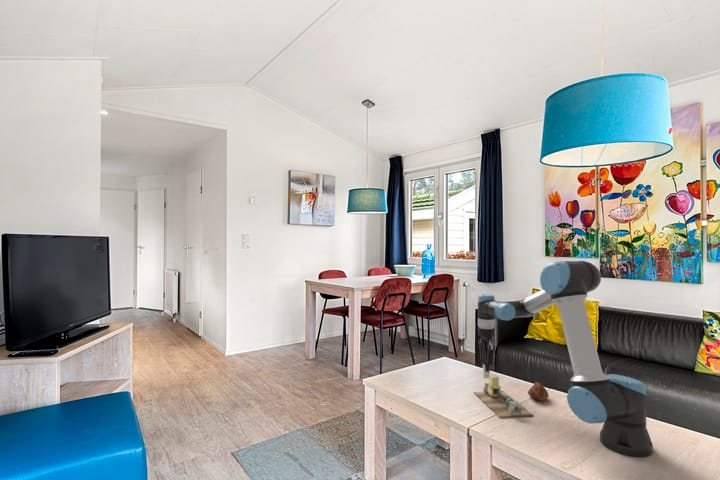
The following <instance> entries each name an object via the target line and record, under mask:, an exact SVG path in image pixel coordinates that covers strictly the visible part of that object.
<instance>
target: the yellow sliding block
mask: <svg viewBox="0 0 720 480" xmlns="http://www.w3.org/2000/svg"><path fill="white" fill-rule="evenodd" d="M488 379H489V384H488V383H487V384H488V394H489V395H490V396H498V395H497V394H496V393H494V392H493V389H496V390H498V391H499V392H500V393H501V391H502V390H501V387H502V386H500V385H499V384H500V382H499V380H500V377H499V376H498V375H497V374H490V375H489V378H488Z"/></svg>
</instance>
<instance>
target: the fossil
mask: <svg viewBox="0 0 720 480" xmlns="http://www.w3.org/2000/svg"><path fill="white" fill-rule="evenodd" d="M531 386H532V387H530V388H529V389H528V391H527V394H528V395H529V396H530V397H532V399H535V400H536V401H540V402H544V401H545V400H547V399H548V398H550V397H549V392H548V391H547V389H546V388H545V387H544V385H543V384H542V383H540V382H537V381H535V382H534V384H533V385H531Z"/></svg>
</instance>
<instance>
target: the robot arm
mask: <svg viewBox="0 0 720 480" xmlns="http://www.w3.org/2000/svg"><path fill="white" fill-rule="evenodd" d="M601 281H602V274H601V272H600V269H599V268H598V267H597V266H596V265H595V264H593V263H592V262H589V261H585V260H557V261H551V262H549V263H547V264H546V265H544V267H543V268H542V271H540V276H539V284H540V287H541V289H540V290H539V291H536V292H535V293H532V294H530V295H529V296H527V297H525V298H522V299H521V300H510V301H509V300H507V301H499V300H498V301H497V300H496V299H495V295H494V294H491V293H490V294H489V293H488V294H487V293H483V294H479V295H477V327H478V328H477V335H478V336H479V337H480V339H479V338H478V347H479V348H478V349H479V358H480V361H481V362H482V363H481V364H482V378H483V379H489V375H491V373H490V368H491V367H490V365H493V360H494V352H495V348H496V346H495V344H494V345H493V340H492V339H493V338H494V337H495V336H496V335H495V334H496V333H495V332H496V329H495V325H496V324H495V323H496V320H495V319H498V320H501V321H507V322H508V321H511V320H513V319H516V318H532V317H535V316H536V315H537V314H538V312H540V311H543V310H545V309H547V308H550V307H551V306H554V305H557V308H558V313H559V316H560V322H561V325H562V331H563V335H564V338H565V342H566V346H567V351H568V354H569V359H570V363H571V367H572V372H573V376H572V377H571V378H570V383H571V388H569V389H568V391H567V394H566V401H567V404H568V406H569V408H570V410H571V412H572V413H573V415H575V416H576V417H577V418H578V419H579V420H580V421H582V422H584V423H586V424H594V425H595V424H602V423H603V424H602V427H601V430H600V432H599V442H600V443H601V444H602V445H603V446H604V447H606V448H607V449H609V450H611V451H614V452H616V453H619V454H621V455H625V456H631V457H636V458H637V457H639V458H641V457H643V458H644V457H649V456H651V455H652V454H653V453H654V445H653V441H652V440H651V437H650V433H649V431H648V429H647V395H648V394H647V390H646V389H647V388H646V385H645V384H644V383H643V382H642V381H640V380H638V379H635V378H632V377H629V376H624V375H619V374H614V373H610V374H609V373H608V374H604V372H603V369H602V366H601V362H600V358H599V354H598V350H597V346H596V342H595V338H594V335H593V331H592V327H591V324H590V320H589V315H588V312H587V311H588V310H587V307H586V304H585V300H586V299H587V298H588V297H589V296H588V293H591V292H593V291H595V290H596V289H597V288H598V287H599V286H600V285H601Z"/></svg>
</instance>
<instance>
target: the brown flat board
mask: <svg viewBox="0 0 720 480" xmlns="http://www.w3.org/2000/svg"><path fill="white" fill-rule="evenodd" d="M488 384H489V383H488V382H485V383H484V387H483V391H473V394H474V395H475V396H476V397H477V398H478V399H479V400H480V401H481V402H482V403H484V405H485V406H486V407H488V408H489V409H490V410H491V411H492V412H493V413H494V414H495V415H496V416H497V417H498V418H499V419H509V418H510V419H511V418H526V417H527V418H528V417H530V418H531V417H534V414H533V413H531V411H529V410H528V409H527V408H525V407H524V406H523V405H522V403H520V401H518V400H516V399H514V398H512V397H511V396H510V395H509V394H507V392H505V391H503V390H501V393H500V392H499V391H498V390H496V389H493V392H494V393H496V394H497V395H498V396H490V395H489V394H488Z"/></svg>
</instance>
